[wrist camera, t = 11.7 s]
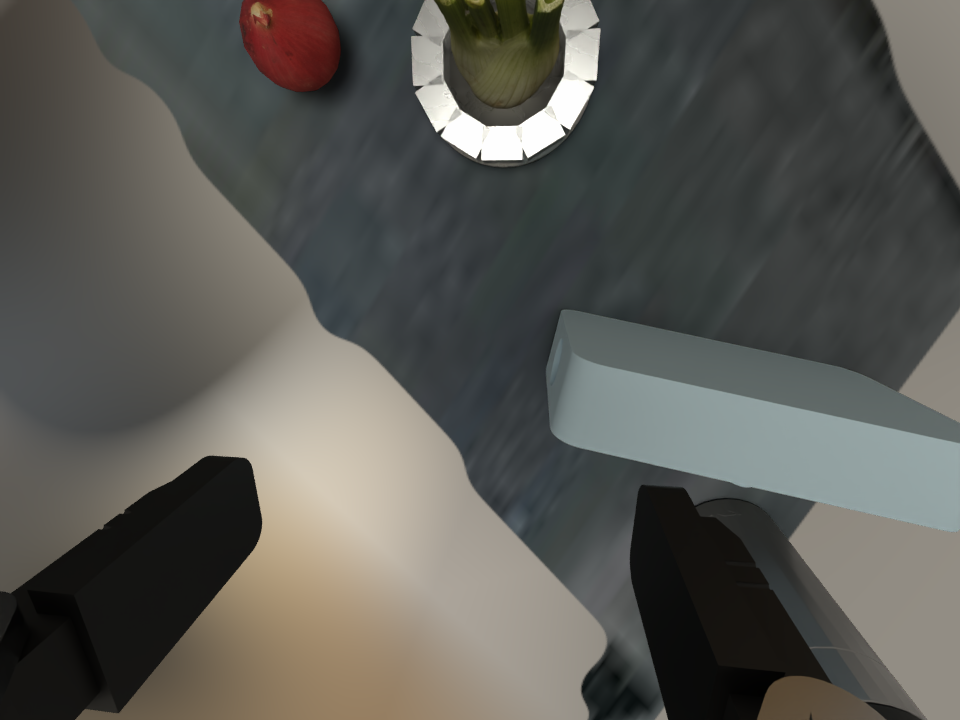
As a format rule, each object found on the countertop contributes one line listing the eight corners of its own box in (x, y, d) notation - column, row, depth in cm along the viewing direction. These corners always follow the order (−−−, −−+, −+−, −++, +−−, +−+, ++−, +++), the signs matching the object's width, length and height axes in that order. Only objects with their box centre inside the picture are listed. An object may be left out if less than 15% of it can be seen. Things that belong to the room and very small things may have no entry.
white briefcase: (542, 372, 38) (547, 454, 25) (559, 306, 36) (574, 359, 23) (819, 433, 37) (968, 550, 24) (852, 369, 35) (1032, 459, 22)
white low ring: (624, 107, 31) (634, 94, 27) (475, 199, 34) (469, 198, 30) (543, -77, 28) (545, -115, 25) (390, 42, 31) (373, 22, 28)
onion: (288, 106, 33) (216, 75, 26) (273, 14, 31) (190, -48, 24) (363, 99, 32) (311, 65, 25) (351, 4, 31) (291, -63, 23)
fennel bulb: (562, 64, 29) (581, -27, 18) (520, 133, 31) (513, 90, 20) (490, 10, 29) (463, -118, 18) (451, 84, 31) (403, 9, 19)
